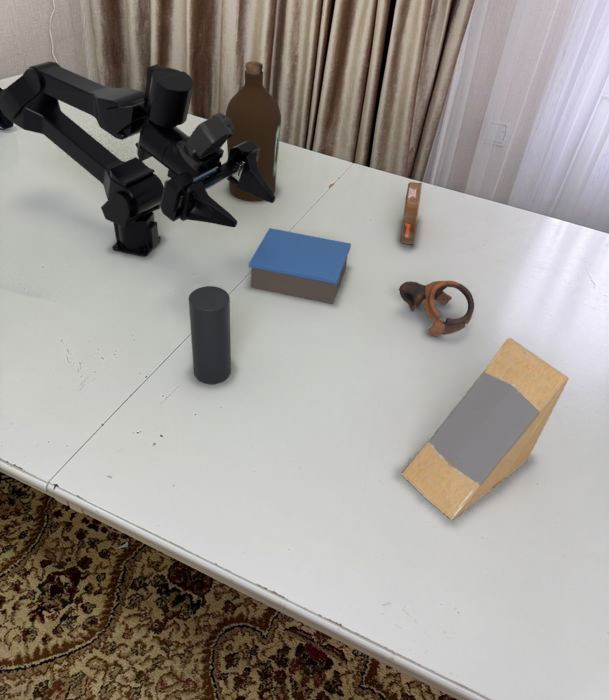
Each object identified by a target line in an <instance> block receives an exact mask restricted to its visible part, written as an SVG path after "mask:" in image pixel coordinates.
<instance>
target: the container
mask: <svg viewBox="0 0 609 700" xmlns="http://www.w3.org/2000/svg"><path fill="white" fill-rule="evenodd" d="M351 246H352V243H351V242H345V241H341V240H335V239H329V238H325V237H319V236H314V235H308V234H303V233H298V232H292V231H287V230H283V229H276V228H272V227H269V228H268V230H267V232H266V233H265V235H264V237H263V238H262V240H261V242H260V243H259V245H258V247H257V248H256V250H255V252H254V254H253V256H252V257H251V259H250V261H249V262H248V267H249V268H251V269H250V271H251V272H250V273H251V274H250V275H251V276H250V279H251V280H250V287H251V288H253V289H257V290H263V291H267V292H272V293H277V294H282V295H285V296H286V295H287V296H292V297H295V298H296V297H297V298H301V299H307V300H311V301H316V302H322V303H326V304H330V305H333V304H334V302H335V300H336V297H337V294H338V291H339V289H340V285H341V283H342V281H343V277H344V275H345V272H346V268H347V262H348V255H349V252H350V250H351Z"/></svg>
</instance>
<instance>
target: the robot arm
mask: <svg viewBox="0 0 609 700" xmlns="http://www.w3.org/2000/svg"><path fill="white" fill-rule="evenodd" d="M145 75H146V76H145V77H146V83H145V89H144V91H142V90H140V89H134V88H130V87H109V86H105V85H103V84H101V83H99V82H96V81H93V80H92V79H89V78H87V77H85V76H82V75H81V74H78V73H75V72H74V71H71V70H69V69H66V68H64V67H62V66H61V65H60V64H59V63H57V62H56V61H50V60H49V61H45V62H41V63H38V64H34V65H30V66H29V67H28V68H27V69H26V70H25V71H24V72H23V74H22V75H21V76H20V77H19V78H17V79H16V80H15V81H13V82H12V83H11V84H9V85H8V86H7V87H6V88H2V90H1V91H0V111H1V113H2V114H3V115H4V117H6V118H7V119H8V121H10V122H11V123H13V124H14V125H16V126H17V127H19V128H20V129H22V130H24V131H27V132H32V133H36V134H41V135H43V136H45V137H46V138H47V139H48V140H49V141H51V142H52V143H53V144H54V145H56V146H57V147H58V148H59V149H60V150H61V151H62V152H64V153H65V154H67V156H69V157H70V158H71V159H72V160H74V162H76V163H77V165H79V166H80V167H82V168H83V169H84V170H86V171H87V172H88V173H89V174H90V175H91V176H93V177H94V178H95V179H96V180H97V181H99V182H100V183H101V184H102V185H103V188H104V192H105V195H106V199H107V201H106V202H105V203H104V204H103V205H102V206H101V207H100V209H101V211H102V215H103V216H104V219H105V220H107V221H109V222H111V223H113V228H114V235H115V243H114V244H113V246H112V247H111V248H112V251H115V252H120V253H125V254H130V255H134V256H140V257H148V255H150V253H151V252H152V251H153V249H154V248H155V247H156V246H157V245H158V244H159V242H160V241H161V239H162V238H161V236H160V235H159V227H158V221H155V213H154V212H155V211H157V210H161V213H162V215H164V216H165V217H166V218H168V219H169V220H170V221H171V222H176V221H177V220H181V221H182V222H185V221H194V222H202V223H209V224H214V225H220V226H223V227H229V228H236V227H237V225H238V219H236V218H235V217H234V216H233V215H232V214H231V213H230V212H229V211H228V210H226V209H225V208H224V207H223V206H222V205H220V204H219V203H218V202H217V201H216V200H214V199H213V198H212V197H211V196H210V195H209V194H208V191H207V190H208V189H211V188H212V187H213V186H216V185H217V184H219V183H221V182H223V181H224V180H227V181H228V182H229V181H230V182H231V183H233V184H238V186H237V188H238V189H240V190H242V191H244V192H247V193H249V194H251V195H253V196H256V197H258V198H260V199H262V200H261V201H264V202H268V203H270V204H273V203H275V201H276V195H275V193H274V194H273V193H272V191H271V189H270V188H269V186H268V185H267V183H266V182H265V180H264V179H263V177H262V175H261V173H260V171H259V170H258V167H257V161H258V158H259V155H258V154H259V151H260V148H259V147H258V146H257V145H256V144H254V143H253V142H252V141H250V140H249V141H245V142H243V143H241V144H239V145H237V146H235V147H233V148H231V149H230V152H229V156H228V155H227V160H226V161H225V162H224V163H222V161H221V158H223V157H224V153H225V150H224V149H222V147H223V146H224V145H225V143H227V139H228V138H231V136H232V135H233V133H232V131H233V130H234V124H233V123H232V121H231V119H230V118H228V117H227V116H225V115H226V114H223V112H220V111H219V112H217V113H214V114H213V115H212V116H211V118H208V119H206V120H204V121H202V122H200V123H199V124H198V125H197V126H196V127H195V129H194V130H193V131H192V132H191V134H190V135H188V134H187V133H185V132H184V131H183V130H181V129H180V128H179V127H177V126H180V125H181V126H182V125H183V124H185V123H186V122H187V119H188V115H189V109H190V105H191V100H192V96H193V90H194V85H195V82H194V79H193V78H192V76H191V75H189V74H188V73H187V72H186V71H184V70H183V71H181V70H178V69H175V68H172V67H163V66H162V65H161V64H159V63H156V64H153V65H150V66H148V67H147V68H146V74H145ZM60 102H62V103H63V104H65V105H69V106H71V107H73V108H74V109H77V110H79V111H81V112H84V113H86V114H88V115H90V116H92V117H93V118H94V119H96V121H97V124H98V126H99V128H100V129H102V131H105V132H106V133H107V134H109V135H111V137H114V138H115V139H116V140H120V141H121V140H125V139H128V138H130V137H132V136H135V135H137V134H139V136H138V137H139V138H138V141H137V142H136V143H135V147H136V149H137V150H136V151H137V152H136V153H137V157H133V158H130V159H128V160H126V161H124V160H121V159H119V157H117V155H115V154H114V153H113V152H111V150H109V149H107V148H106V147H105V146H104V145H103V144H102V143H100V142H99V141H98V140H97V139H96V138H94V137H93V136H92V135H91V134H90V133H88V132H87V131H86V130H84V128H82V127H81V126H80V125H79V124H77V122H75V121H74V120H73V119H71V118H70V117H69V116H67V114H65V113H64V112H63V111H62V109H61V105H60ZM150 158H153V159H155V160H156V161H157V162H159V163H160V164H161V165H162V166H164V167H165V168H166V169H167V177H168V178H169V179H167V180H165V181H164V183H163V182H162V180H161V179H160V178H159V176H158V175H157V174H155V172H156V171H155V169H154V168H151V167H149V166H147V165H146V164H145V163H144V161H146V160H148V159H150Z"/></svg>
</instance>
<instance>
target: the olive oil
mask: <svg viewBox="0 0 609 700" xmlns="http://www.w3.org/2000/svg"><path fill="white" fill-rule="evenodd" d="M244 64H245V65H244V66H245V67H244V68H245V70H244V84H243V85H242V86H241V88H240V89H238V91H237V92H236V93H235V94H234V95H233V96H232V97H231V98H230V100H229V102H228V103H227V107H226V110H225V114H224V115H225V116H227V117H228V118H230V119H231V121H232V123H233V124H234V130H233V131H232V133H233V135H232V136H231V138H228V139H227V140H226V144H227V145H226V146H227V147H226V148H227V157H228V156H229V152H230V149H231V148H233V147H235V146H237V145H239V144H241V143H243V142H245V141H249V140H250V141H252V142H253V143H254V144H256V145H257V146H258V147H259V148H260V151H259V154H258V155H259V158H258V161H257V167H258V170H259V171H260V173H261V175H262V177H263V179H264V180H265V182H266V183H267V185H268V186H269V188H270V189H271V191H272V193H273V194H274V195H275V192H276V183H277V171H278V159H279V158H278V157H279V149H280V148H279V146H280V139H281V137H280V136H281V127H282V115H281V110H280V106H279V104H278V102H277V100H276V99H275V98H274V97H273V95H271V94H270V92H269V91H268V90H267V89H266V88H265V86H264V71H263V68H264V65H263V63H262V62H259V61H254V60H253V61H246V62H245V63H244ZM228 183H229V192H230V193H231V195H232V196H233V197H235V198H237V199H240V200H243V201H249V202H259V201H260V202H261V201H263V200H262V199H260V198H258V197H256V196H253V195H251V194H249V193H247V192H244V191H242V190H240V189H238V188H237V186H238V184H233V183H231V182H230V181H229V180H228Z"/></svg>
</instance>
